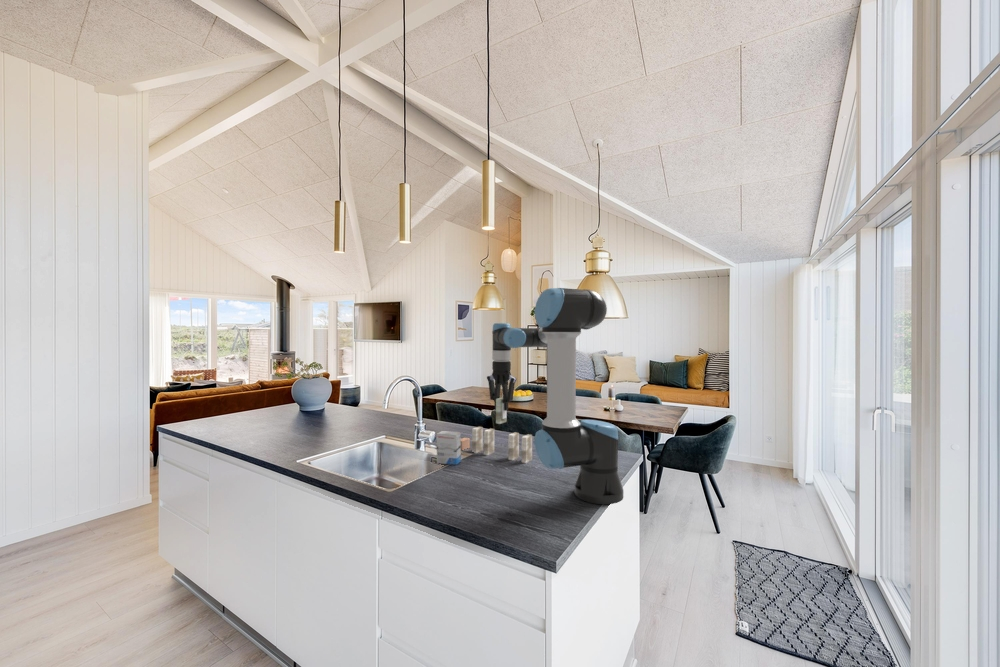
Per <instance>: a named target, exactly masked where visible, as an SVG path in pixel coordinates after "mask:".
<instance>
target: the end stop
mask: <svg viewBox="0 0 1000 667" xmlns="http://www.w3.org/2000/svg"><path fill="white" fill-rule="evenodd" d="M470 445H471V439H470V438H469V437H461V451H462V450H463V451H465V450H467V448H468V449H470V448H471V446H470ZM464 449H465V450H464Z"/></svg>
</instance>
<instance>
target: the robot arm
mask: <svg viewBox="0 0 1000 667" xmlns="http://www.w3.org/2000/svg"><path fill="white" fill-rule="evenodd" d="M607 309H608V308H607V303H606V301H605V300H604V298H603V296H602V295H601V294H599V293H598V292H596V291H595V290H591V289H585V288H584V289H580V288H579V289H577V288H566V287H554V288H553V287H552V288H546V289H545V290H543V291H542V292H541V293H540V294H539V297H538V298H537V300H536V303H535V306H534V319H535V323H536V325H538V327H536V328H535V327H530V328H529V327H527V328H526V327H525V328H524V327H522V328H521V327H512V326H511V324H510V323H507V322H504V323H503V322H499V323H497V322H496V323H493V324H492V332H491V333H492V352H491V353H492V360H493V361H492V362H491V363H492V367H491V368H492V373H491V374H490V375H487V376H486V379H487V380H486V381H488V382H487V383H488V389H489V391H488V392H489V398H490V399H489V400H492V401H493V402H494V410H496V399H498V398H501V397H500V396H501V388H502V397H503V403H502V419H504V418H507V416H508V414H507V411H508V410H509V402H512V401H513V399H514V392H515V384H516V382H517V377H514V376H512V374H511V367H512V364H511V363H512V362H511V360H512V359H511V358H512V357H511V354H512V353H511V352H512V349H518V348H546V350H547V351H546V353H547V354H546V364H547V365H546V375H547V376H546V377H547V378H546V417H545V418H544V419H543V420H542V422H541V429H539V430H538V431H536V432H535V435H534V437H533V438H534V439H533V440H534V449H535V452H536V456H537V457H538V459H539V461H540V463H541V465H543V466H544V467H545V468H546V469H549V470H563V469H567V468H572V467H579V471H578V473H577V474H578V475H577V477H576V479H575V483H574V491H573V492H574V496H575V497H577V498H578V499H580V500H582V501H584V502H587V503H591V504H595V505H596V504H597V505H613V504H618V503H620V502H621V501H623V500H624V487H623V485H622V481H621V478H620V475H619V430H618V427H617V426H616V425H614V424H612V423H610V422H606V421H602V420H596V419H581V420H580V421H579V420H578V419H577V418H576V415H577V414H576V406H577V405H576V401H577V400H576V398H577V397H576V391H577V388H576V387H577V383H576V382H577V381H576V377H577V374H576V373H577V371H576V369H577V368H576V367H577V366H576V365H577V364H576V362H577V361H576V360H577V358H576V357H577V352H576V351H577V349H576V348H577V338H578V337H579V336H580V335H581V334H582V330H585V331H586V330H590V329H592V328H595V327H597V326H599V325H600V324H602V323H603V321H604V320H605V318H606V316H607Z"/></svg>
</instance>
